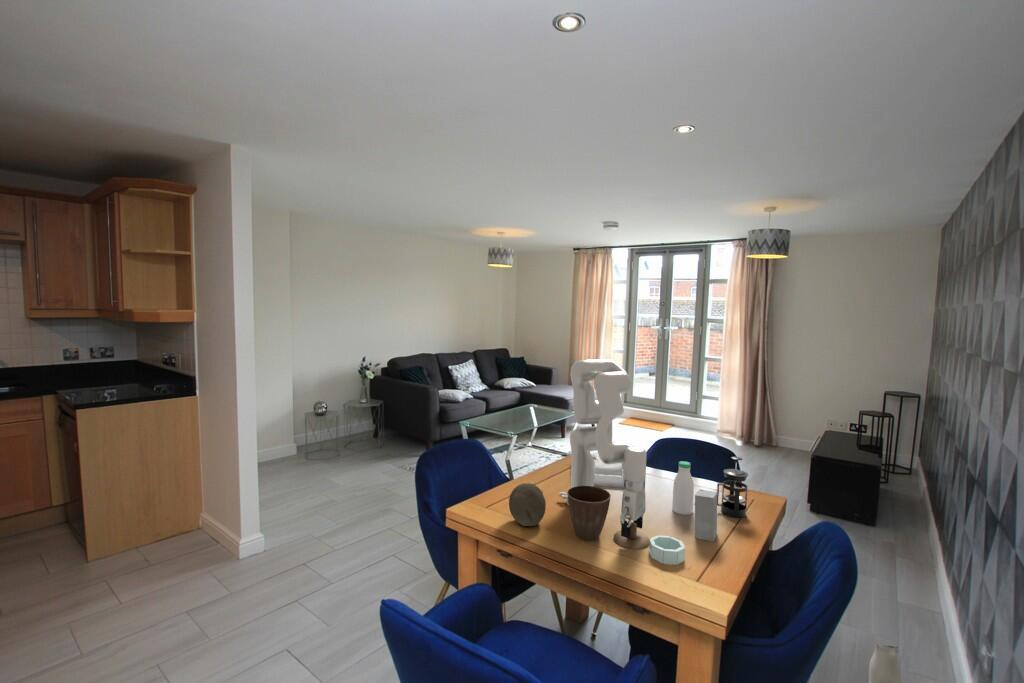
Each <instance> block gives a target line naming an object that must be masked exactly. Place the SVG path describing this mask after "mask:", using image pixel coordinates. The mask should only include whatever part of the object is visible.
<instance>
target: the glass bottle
mask: <svg viewBox="0 0 1024 683" xmlns="http://www.w3.org/2000/svg"><path fill="white" fill-rule="evenodd" d="M874 647H875V648H874V651H873V654H872V656H871V658H870V661H869V665H868V666H869V667H868V683H901V679H902V678H901V677H902V675H901V673H902V672H901V669H900V664H899V660H898V654H899V650H898V647H899V646H896V645H895V646H893V645H884V644H874Z"/></svg>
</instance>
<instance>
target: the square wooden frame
mask: <svg viewBox="0 0 1024 683" xmlns="http://www.w3.org/2000/svg"><path fill="white" fill-rule="evenodd" d="M591 456H592V457H596V456H599V454H591ZM621 464H622V466H623V463H621ZM594 486H596V487H598V486H599V487H615V488H623V487H622V486H623V475H622V476H614V475H597V474H595V478H594Z"/></svg>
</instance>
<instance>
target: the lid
mask: <svg viewBox="0 0 1024 683" xmlns="http://www.w3.org/2000/svg"><path fill="white" fill-rule="evenodd" d="M630 527H631V536H630V538H626V537H623V536H621V530H618V531H616V532H615V533H614V534H613V541H614V542H615V543H616V544H617V545H618V546H620V547H623V548H627V549H632V550H634V549H635V550H641V549H645V548H647V547H648V546H649V543H650V538H649V536H648V535H646V534H644V533H642V532H639V531H637V530H638V528H637V524H636V523H634V522H633V521H631V524H630Z"/></svg>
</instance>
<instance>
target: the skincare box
mask: <svg viewBox="0 0 1024 683" xmlns="http://www.w3.org/2000/svg"><path fill="white" fill-rule="evenodd" d="M717 533H718V506H717V491H712V490H705V489H701V488H700V489H698V491H696V494H695V495H694V538H695V539H698V540H704V541H707V542H711V543H714V542H715V539H716V537H717Z"/></svg>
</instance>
